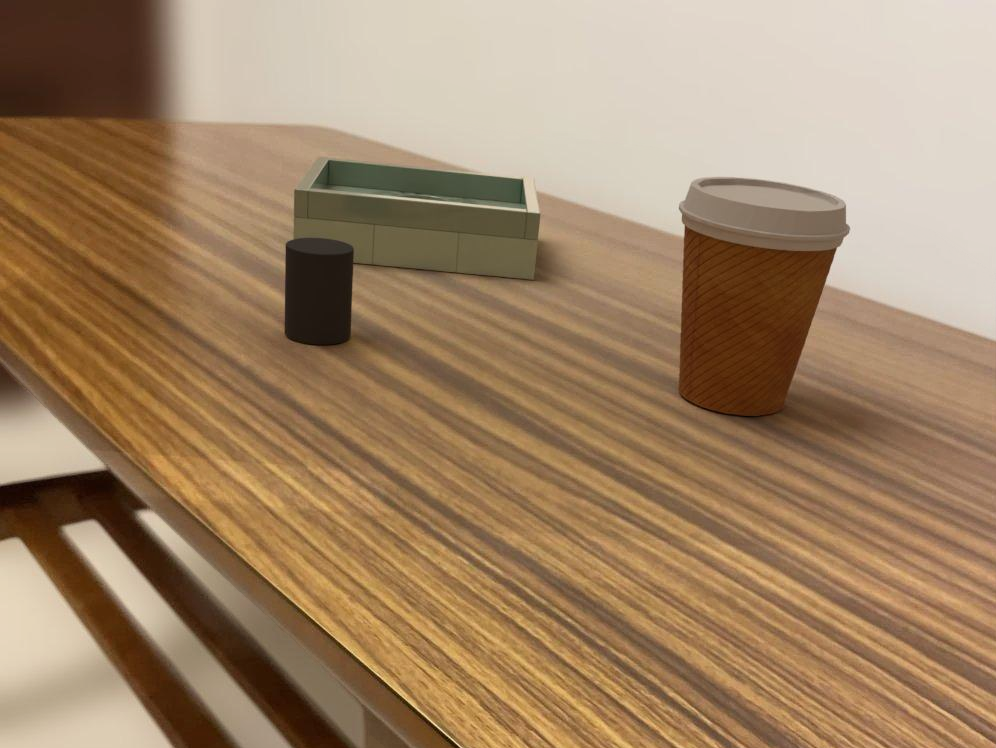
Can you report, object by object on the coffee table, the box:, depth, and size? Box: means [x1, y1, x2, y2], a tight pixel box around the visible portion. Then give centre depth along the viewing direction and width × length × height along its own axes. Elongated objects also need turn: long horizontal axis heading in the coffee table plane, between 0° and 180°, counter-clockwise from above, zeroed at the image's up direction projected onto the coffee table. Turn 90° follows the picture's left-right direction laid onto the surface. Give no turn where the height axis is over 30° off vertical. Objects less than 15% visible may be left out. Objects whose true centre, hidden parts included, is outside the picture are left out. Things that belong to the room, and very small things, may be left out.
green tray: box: [292, 184, 539, 281], centre depth 98 cm, size 18×15×3 cm
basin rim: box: [293, 156, 541, 240], centre depth 97 cm, size 18×14×2 cm
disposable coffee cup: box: [678, 176, 851, 417], centre depth 71 cm, size 10×10×12 cm
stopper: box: [284, 238, 354, 346], centre depth 75 cm, size 4×4×6 cm
